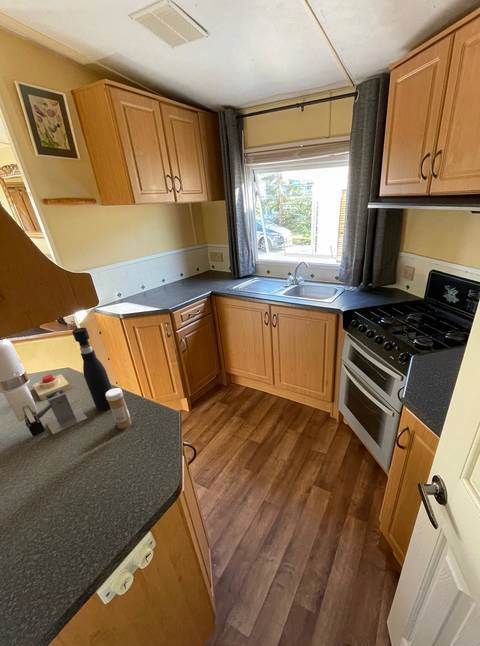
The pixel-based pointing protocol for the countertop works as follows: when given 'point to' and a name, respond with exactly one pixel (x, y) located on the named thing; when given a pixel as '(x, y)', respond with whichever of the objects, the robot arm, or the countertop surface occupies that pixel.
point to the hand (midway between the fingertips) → (37, 430)
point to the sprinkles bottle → (118, 407)
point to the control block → (51, 386)
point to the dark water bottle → (93, 371)
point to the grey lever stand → (63, 412)
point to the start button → (48, 379)
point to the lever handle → (44, 409)
